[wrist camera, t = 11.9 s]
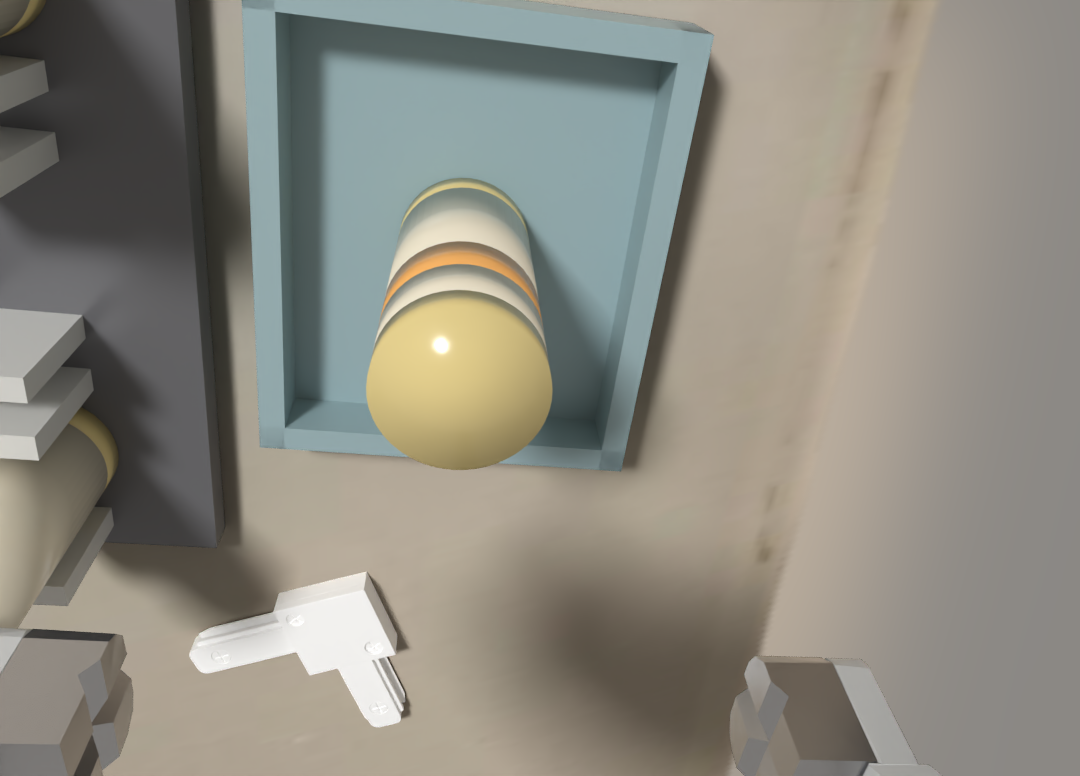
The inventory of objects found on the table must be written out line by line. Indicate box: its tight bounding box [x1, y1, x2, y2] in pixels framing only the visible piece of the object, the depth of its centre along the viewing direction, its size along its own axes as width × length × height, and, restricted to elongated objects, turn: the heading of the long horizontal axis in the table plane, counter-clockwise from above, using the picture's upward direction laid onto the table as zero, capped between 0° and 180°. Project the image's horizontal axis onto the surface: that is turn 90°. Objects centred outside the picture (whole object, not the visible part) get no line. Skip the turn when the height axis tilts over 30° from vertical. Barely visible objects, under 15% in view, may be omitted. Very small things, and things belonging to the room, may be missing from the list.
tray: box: [242, 0, 714, 471], centre depth 26 cm, size 14×12×2 cm
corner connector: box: [190, 572, 405, 727], centre depth 36 cm, size 8×8×2 cm
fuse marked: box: [366, 178, 552, 470], centre depth 22 cm, size 4×4×10 cm
